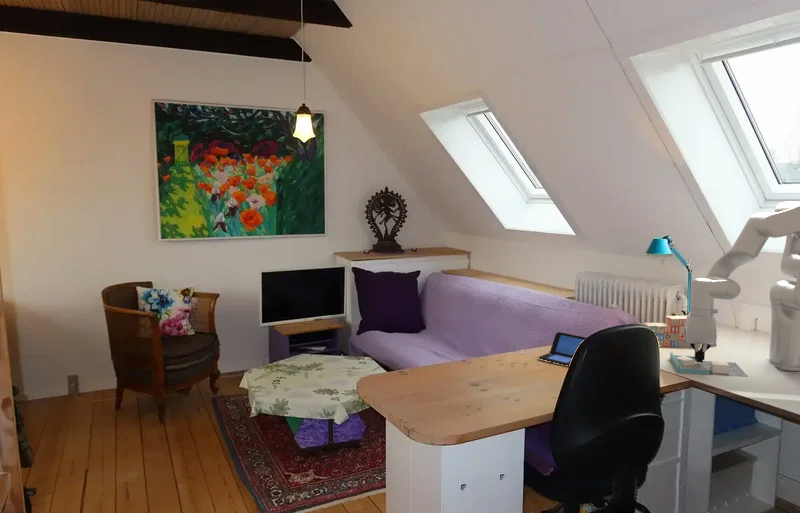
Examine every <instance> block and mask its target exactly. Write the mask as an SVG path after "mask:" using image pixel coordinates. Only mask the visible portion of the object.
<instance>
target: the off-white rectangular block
mask: <svg viewBox="0 0 800 513" xmlns="http://www.w3.org/2000/svg"><path fill="white" fill-rule="evenodd" d="M709 361H710V370H711V371H712V372H713V373H724V374H729V365H728V363H727V362H728V361H719V360H709Z"/></svg>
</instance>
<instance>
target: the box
mask: <svg viewBox="0 0 800 513" xmlns="http://www.w3.org/2000/svg"><path fill="white" fill-rule="evenodd" d="M681 356H682V355H675V354H674V353H673V352H670V354H669V357H670V358H669V359H670V362H671V363H672V365H673V366H674V369H675V370H676V372H677V373H678V374H694V375H709V372H710V370H706V369H705V368H704V369H703V368H702V369H701V368H688V367H687V368H685V367H681V366H680V365H681V364H679V363H678V362H677V360H676V358H675V357H681ZM685 356H686V357H689V358H692V359H694V360H695V362H697V361H696V359H695V355H694V356H692V355H685ZM709 376H710V375H709Z"/></svg>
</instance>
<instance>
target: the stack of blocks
mask: <svg viewBox="0 0 800 513" xmlns="http://www.w3.org/2000/svg"><path fill="white" fill-rule="evenodd" d="M686 318H687V315H665V320H664V321H665V322H644V323H643V327H644V326H647V327H649V328H650V329H652V330H653V331H654V333H655V334H656V336H657V338H658V341H659V345H660V348H661V349H662V348H666V349H667V348H668V349H669V348H675V349H676V348H685V349H686V348H692V347H691V346H687V345H685V344H684V340H685V338H684V332H685V323H686ZM701 346H702V344H698V347H699V348H700V349H701ZM692 349H693V348H692Z"/></svg>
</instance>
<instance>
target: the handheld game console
mask: <svg viewBox="0 0 800 513" xmlns="http://www.w3.org/2000/svg"><path fill="white" fill-rule="evenodd" d="M553 338H554V339H553V341H552V344H551V347H550V350H549V352H547V353H546V354H543V355H541V356H538V359H539V358H540V359H543V360H547V361H551V362H555V363H559V364H563V365H568V366H569V364H570V362H571V359H572V357H573V355H574V353H575V351H576V349H577V347H578V346H579V345H580V343H581V342H582V341H583V340H584V339H586V338H587V337H585V336H580V335H575V334H571V333H565V332H559V331H557V332H556V333H555V335H554V337H553Z"/></svg>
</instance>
